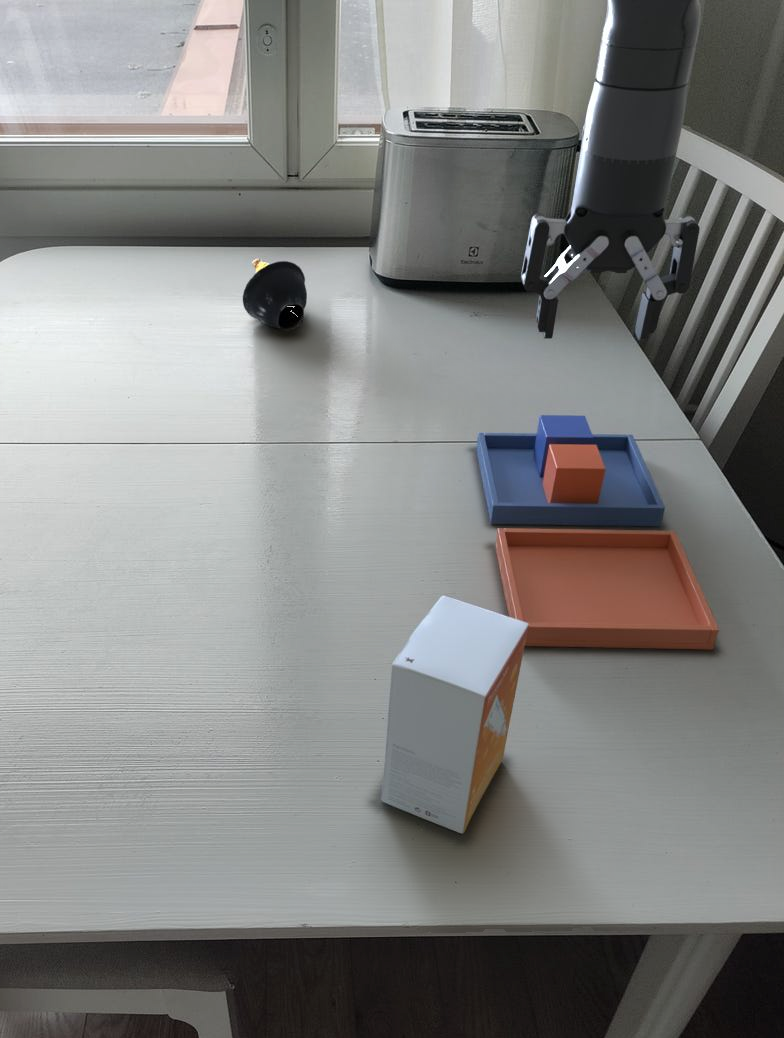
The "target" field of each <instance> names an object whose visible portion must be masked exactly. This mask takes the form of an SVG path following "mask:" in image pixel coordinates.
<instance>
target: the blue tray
mask: <svg viewBox="0 0 784 1038" xmlns="http://www.w3.org/2000/svg"><path fill="white" fill-rule="evenodd" d="M536 435H537V432H535V433H534V432H533V433H532V432H531V433H528V432H527V433H525V432H524V433H523V432H477V439H476V448H475V452H476V456H477V462H478V466H479V472H480V476H481V482H482V488H483V492H484V497H485V502H486V507H487V512H488V518H489V522H490V524H491V525H541V526H542V525H543V526H546V525H547V526H548V525H550V526H555V525H556V526H559V525H560V526H608V527H609V526H610V527H611V526H613V527H616V526H617V527H661V525H662V521H663V517H664V514H665V510H666V507H665V505H664V502H663V500H662V498H661V495H660V494H659V491H658V488H657V486H656V485H655V482H654V479H653V478H652V476H651V473H650V471H649V469H648V467H647V463H646V462H645V460H644V457H643V455H642V453H641V451H640V449H639V446H638V443H637V441H636V439H635V437H634V435H633V434H616V433H615V434H614V433H613V434H612V433H611V434H609V433H607V434H606V433H601V434H600V433H592V435H593V442H592V445H597V448H598V450H599V453H600V455H601V458H602V461H603V463H604V466H605V469H606V470H605V474H604V479H603V483H602V488H601V492H600V497H599V502H598V504H570V503H548V502H547V498H546V495H545V491H544V488H543V478H544V477H540V476H539V472H538V469H537V465H536V462H535V458H534V455H533V453H534V447H535V441H536Z"/></svg>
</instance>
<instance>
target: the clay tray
mask: <svg viewBox="0 0 784 1038" xmlns="http://www.w3.org/2000/svg"><path fill="white" fill-rule="evenodd" d="M495 538H496V539H495V546H494V548H495V553H496V559H497V564H498V568H499V573H500V579H501V583H502V589H503V595H504V599H505V605H506V610H507V616H508V617H511V618H514V619H517V620H520V621H523V622H526V623H528V624H529V628H528V632H527V637H526V642H525V647H558V648H560V647H561V648H563V647H564V648H608V649H609V648H610V649H611V648H612V649H613V648H615V649H616V648H617V649H620V648H621V649H663V650H664V649H668V650H672V649H673V650H713V649H714V647H715V644H716V641H717V638H718V636H719V634H720V633H719V632H720V628H719V626H718V623H717V622H716V620H715V617H714V614H713V612H712V611H711V608H710V606H709V604H708V601H707V599H706V597H705V595H704V593H703V590H702V588H701V586H700V583H699V582H698V579H697V577H696V574H695V572H694V570H693V568H692V565H691V563H690V561H689V559H688V556H687V554H686V552H685V550H684V547H683V546H682V545H683V544H682V543H681V541H680V539H679V535H678V533H677V531H675V530H638V529H637V530H635V529H634V530H633V529H631V530H629V529H577V528H576V529H575V528H574V529H573V528H570V529H569V528H509V527H508V528H504V527H503V528H500V527H499V528H497V532H496V537H495Z"/></svg>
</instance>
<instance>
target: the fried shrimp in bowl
mask: <svg viewBox="0 0 784 1038" xmlns="http://www.w3.org/2000/svg"><path fill="white" fill-rule="evenodd" d="M251 263H252V266H253V267H254V269H255V274H253V276H252V277H250V278H249V280H248V281H247V283H246V285H245V288H244V290H243V293H242V304H243V305H242V306H243V308H244V310H245V311H246V313H247V314H248V315H249V316H250V317H252V318H253V319H256V320H258V321H259V322H260V323H262V324H263V325H265V326H266V327H271V328H279V329H280V331H281V330H282V331H284V332H286V331H293V330H294V329H296V328H298V327H300V326H301V325H302V324H303V323H304V320H305V308H306V306H307V299H308V293H307V287H306V276H305V274H304V272H303V270H302V268H301V267H300V266H299V265H297V264H296V263H294V262H292V261H286V260H278V261H275V262H272V263H269V262H265V261H263V260H262V258H255V259H253V261H252V262H251ZM287 306H295V307H294V308H293V307H287ZM291 310H292V312H294V313H295V314H296V315H297V316H298V317H297V316H296V315H295V314H293V313H292V312H290V311H291Z"/></svg>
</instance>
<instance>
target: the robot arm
mask: <svg viewBox="0 0 784 1038" xmlns="http://www.w3.org/2000/svg"><path fill="white" fill-rule="evenodd" d="M606 2H607V5H606V15H605V20H604V23H603V29H602V33H601V40H600V45H599V51H598V56H597V57H598V59H597V64H596V69H595V78H594V83H593V87H592V91H591V94H590V97H589V100H588V101H589V102H588V105H587V109H586V113H585V120H584V123H583V126H582V130H581V145H580V150H579V157H578V159H579V160H578V165H577V171H576V178H575V183H574V191H573V196H572V203H571V207H570V210H569V211H568V214H567V215H566V217H565V218H553V217H552V218H551V217H546V215H545V214H543V213H541V212H539V213H535V214H534V215H533V216H532V218H531V221H530V226H529V230H528V237H527V242H526V247H525V252H524V257H523V263H522V268H521V273H520V279H521V281H522V285H523V287H524V290H525V292H528V293H535V294H537V295H538V302H537V308H536V309H537V310H536V316H535V323H536V326H537V329H538V332H539V333H541V334H542V338H543V339H547V340H548V339H549V340H550V339H553V335H554V331H555V323H556V317H557V312H558V304H559V298H558V295H559V294H560V293H561V292H562V291H563V290H564V288H566V287H567V285H568V284H569V283H572V282H574V281H575V280H576V279H577V278H578V277H579V276H580V275H581V274H582V273H583V272H584V270H587V271H589V273H590V274H601V273H606V272H613V273H615V274H627V272H628V271H631V270H632V269H635V268H636V270H637V271H638V273H639V275H640V277H641V278H642V280H643V283H644V284H645V285H646V291H642V293H641V294H642V295H641V299H640V303H639V308H638V313H637V317H636V324H635V327H634V333H635V335H636V337H637V340H639V341H647V340H648V339H649V335H650V334H654V333H655V331H657V328H658V323H659V320H660V315H661V312H662V311H661V310H662V306H663V302H664V300H665V299H666V298H667V297H668V296H671V295H673V294H685V293H686V292H688V290H689V289H690V286H691V280H692V275H693V268H694V263H695V258H696V253H697V252H696V251H697V247H698V241H699V235H700V230H701V229H700V225H699V224H698V223H697V221H696V220H695V218H694V217H693V216H692V215H691V214H689V213H685V214H682V215H680V217H679V218H669V219H665V215H664V214H665V213H664V212H665V208H666V204H667V198H668V194H669V189H670V184H671V181H672V176H673V171H674V167H675V161H676V158H677V157H676V156H677V153H678V149H679V148H678V147H679V143H680V138H681V133H682V129H683V124H684V118H685V113H686V104H687V103H686V101H687V92H688V84H689V83H688V82H689V80H690V76H691V71H692V66H693V61H694V57H695V52H696V46H697V43H698V36H699V32H700V25H701V15H702V13H701V12H702V11H701V3H700V1H699V0H607V1H606ZM560 235H564V237H565V239H566V241H567V243H568V245H569V246H568V247H567V248H566V249H565V250H564V251H563V252H562V253H561V254H560V256H558V258H557V260H556V262H555V264H554V265H553V266H552V267H551V268H550V269H549V270H548V272H547V273H546V274H545V275H543V274H542V273H541V272H542V268H543V263H544V260H545V259H544V258H545V253H546V248H547V247H550V246H552V245H554V243H555V241H556V239H557V237H558V236H560ZM665 235H666V236H667V235H668V241H669V243H670V245H671V246H672V247H673V250H672V256H671V263H670V268H669V274H666V275H663V276H660V275H659V273H658V272H657V269H656V268H655V266H654V264H653V262H652V259H650V256H649V255H648V254H649V253H650V252H651V251H652V250H653V249H654V248H655V246H656V245H657V244H658V243H659V242H660V241H661V240H662V239H663V238H664V236H665Z"/></svg>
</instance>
